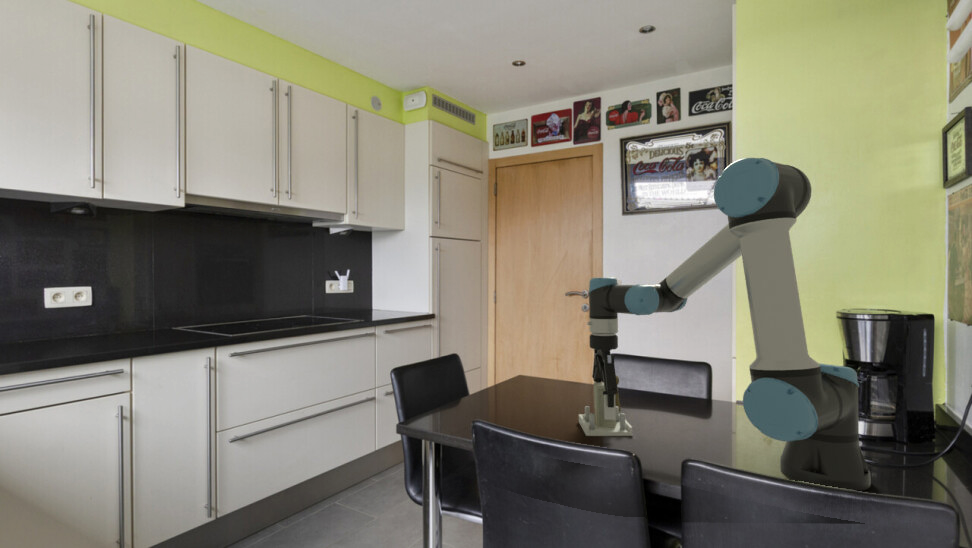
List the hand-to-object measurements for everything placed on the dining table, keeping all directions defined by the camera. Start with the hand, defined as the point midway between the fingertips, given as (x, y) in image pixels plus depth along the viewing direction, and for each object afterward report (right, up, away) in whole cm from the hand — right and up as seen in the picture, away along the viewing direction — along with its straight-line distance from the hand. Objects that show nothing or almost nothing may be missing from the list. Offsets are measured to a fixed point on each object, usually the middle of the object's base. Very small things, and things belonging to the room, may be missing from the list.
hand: (604, 412), depth 130 cm
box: (0, -4, 0) cm, 4 cm away
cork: (+7, -5, +19) cm, 20 cm away
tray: (0, -5, 0) cm, 4 cm away
